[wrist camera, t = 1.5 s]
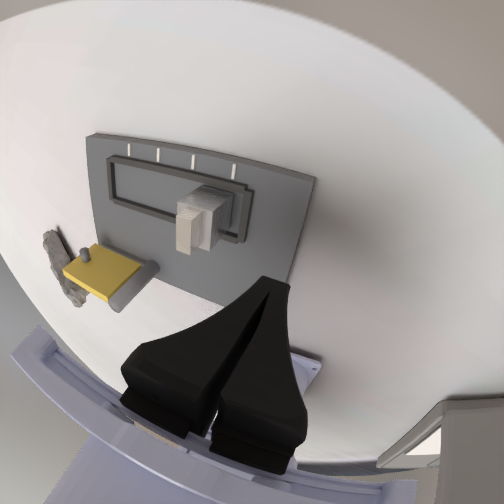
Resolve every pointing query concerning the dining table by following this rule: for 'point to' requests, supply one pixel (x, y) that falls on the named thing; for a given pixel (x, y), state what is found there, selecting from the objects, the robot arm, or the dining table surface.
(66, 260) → the stone
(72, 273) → the door
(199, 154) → the console
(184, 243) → the fader knob
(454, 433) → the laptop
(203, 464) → the robot arm
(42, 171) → the dining table surface
